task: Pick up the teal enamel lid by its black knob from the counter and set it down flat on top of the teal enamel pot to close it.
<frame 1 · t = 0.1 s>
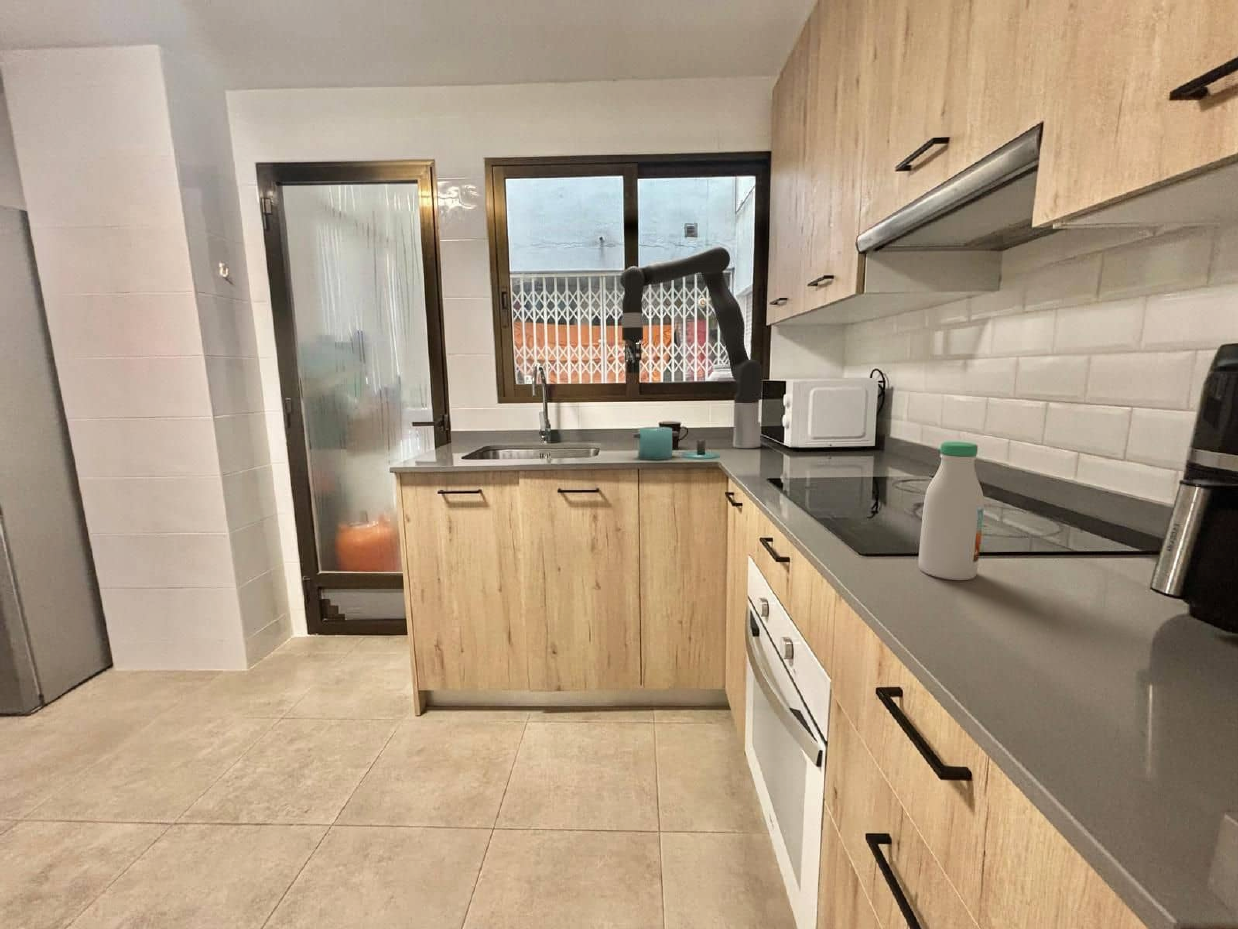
hand: (633, 373, 193), 29 cm above the worktop, tool pointing down, fingers open, 8 cm apart
milk bottle: (946, 573, 82), on the worktop
coffee mug: (671, 448, 208), on the worktop
lid: (700, 456, 190), on the worktop
pot: (655, 457, 189), on the worktop
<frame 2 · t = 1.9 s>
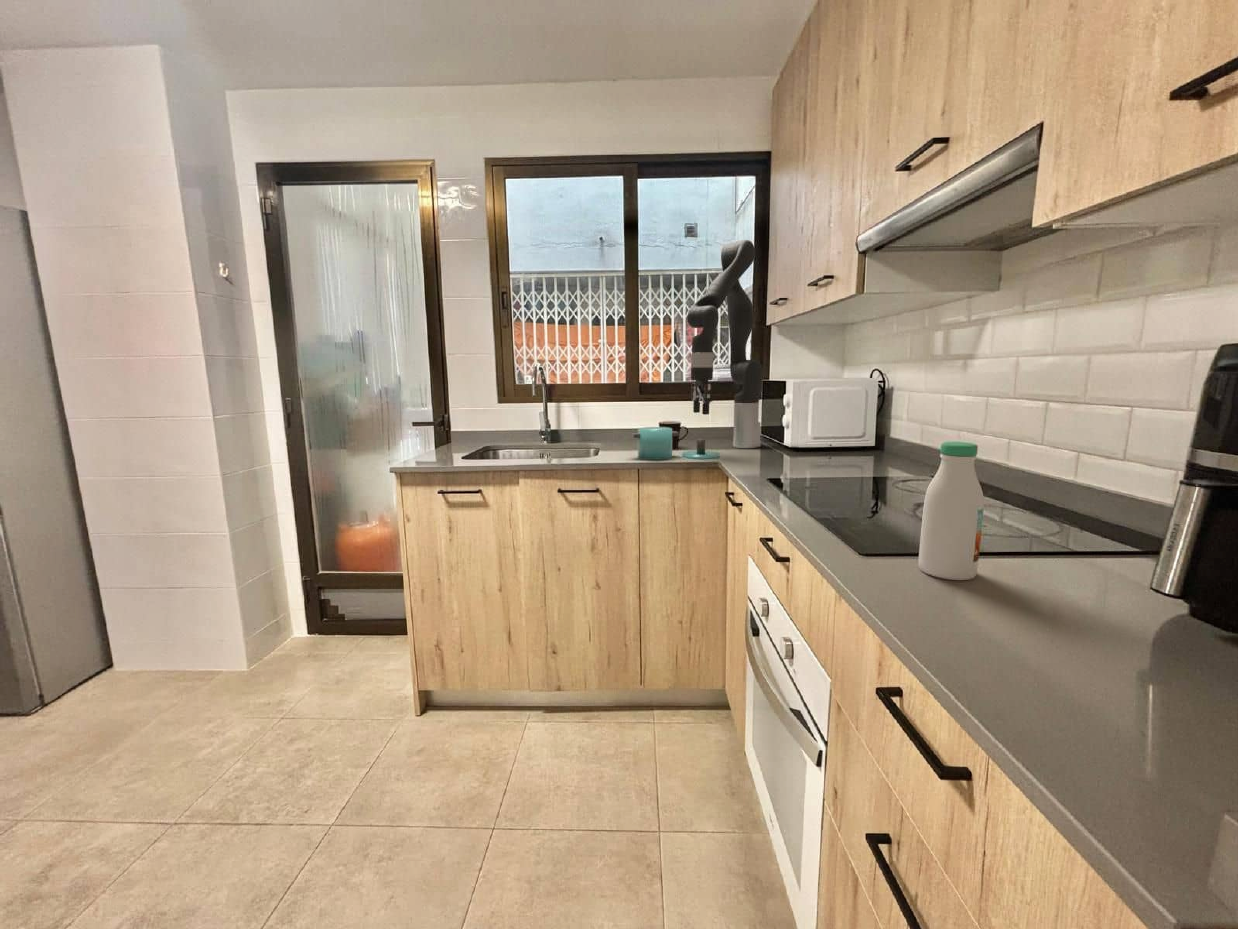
hand: (701, 413, 187), 15 cm above the worktop, tool pointing down, fingers open, 8 cm apart
nothing on the worktop moved.
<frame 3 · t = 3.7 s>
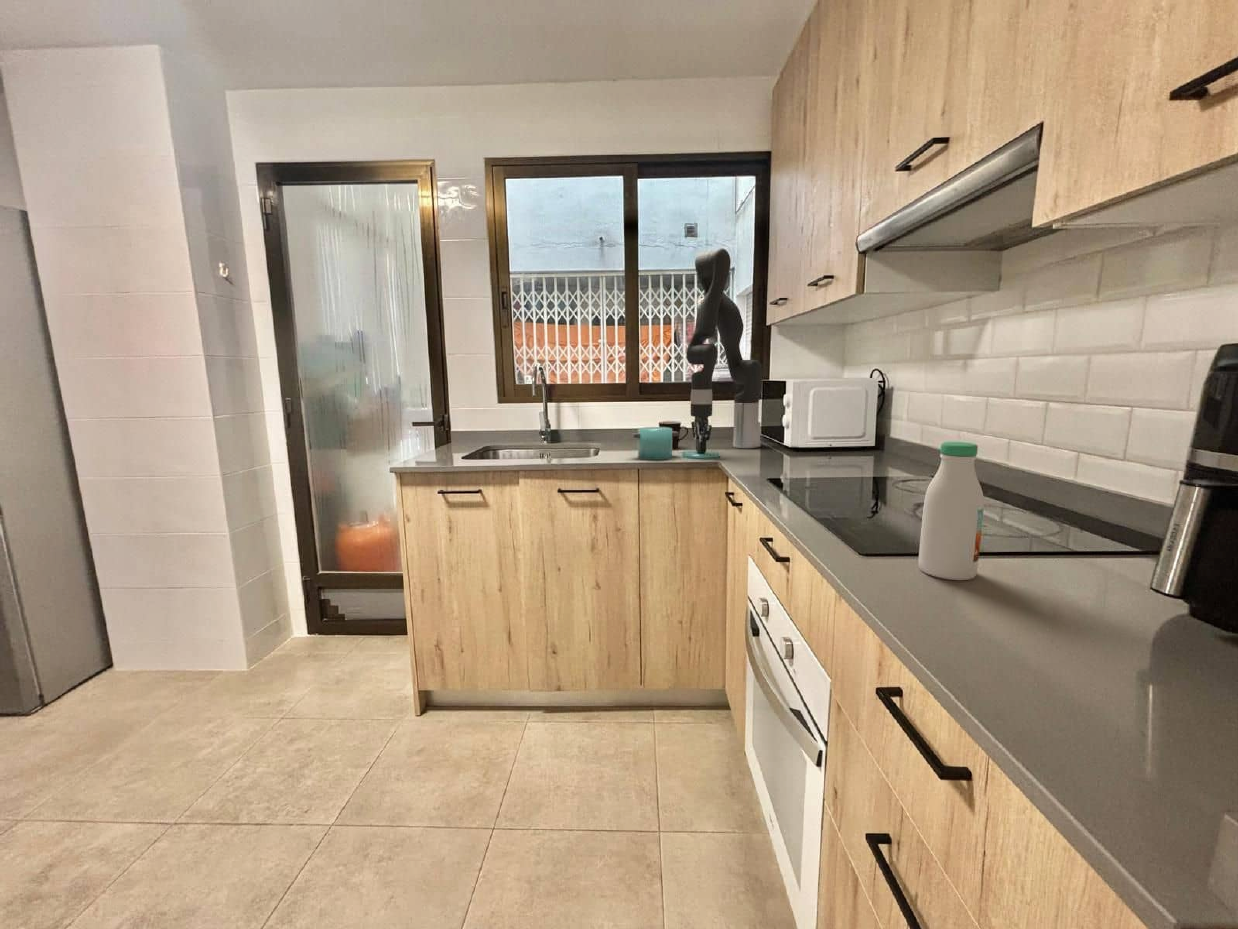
hand: (700, 451, 189), 2 cm above the worktop, tool pointing down, fingers closed on lid, 3 cm apart
lid: (700, 456, 190), on the worktop, touching gripper
everything else where it was.
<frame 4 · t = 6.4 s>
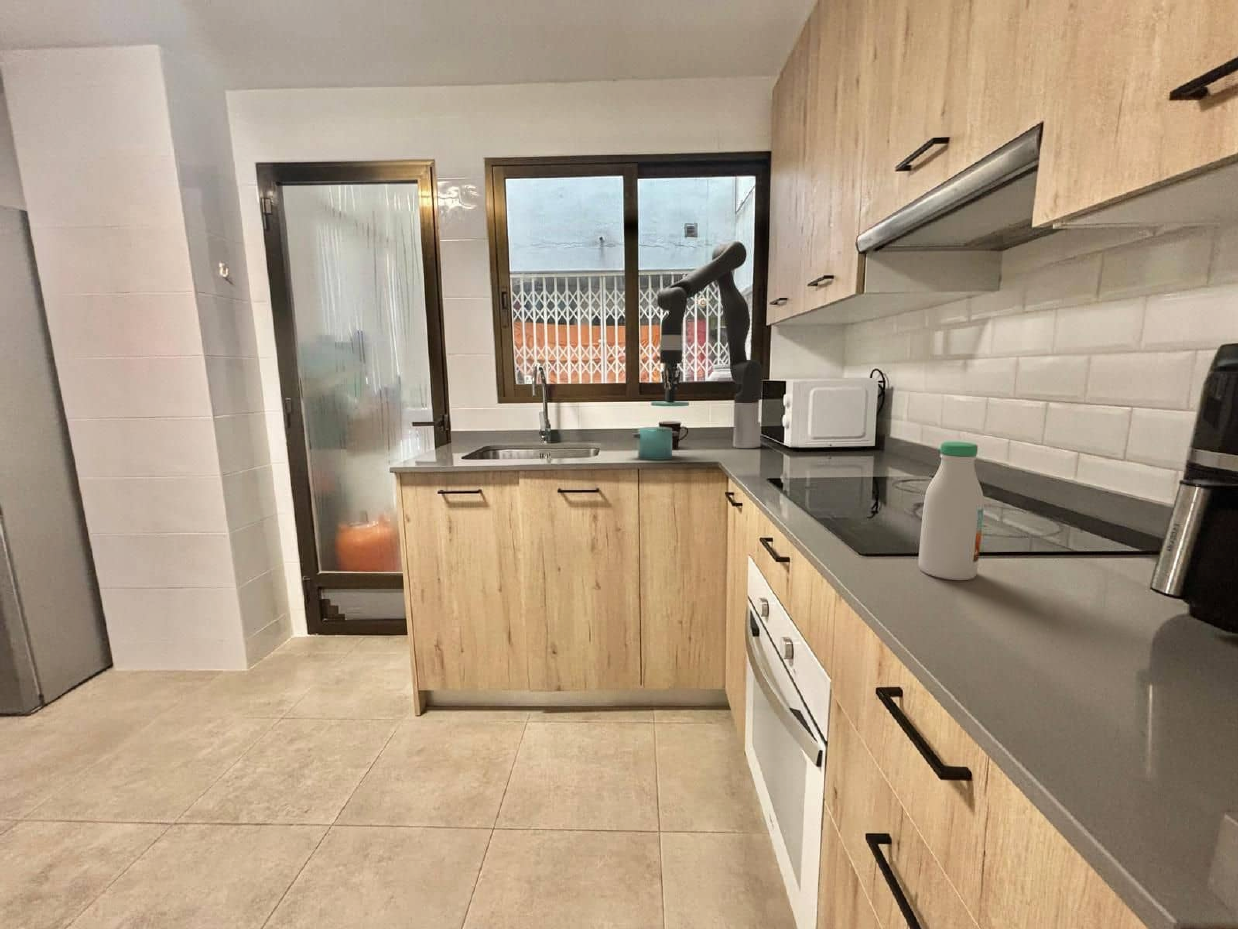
hand: (670, 400, 185), 20 cm above the worktop, tool pointing down, fingers closed on lid, 3 cm apart
lid: (669, 405, 185), point 18 cm above the worktop, touching gripper
everything else where it was.
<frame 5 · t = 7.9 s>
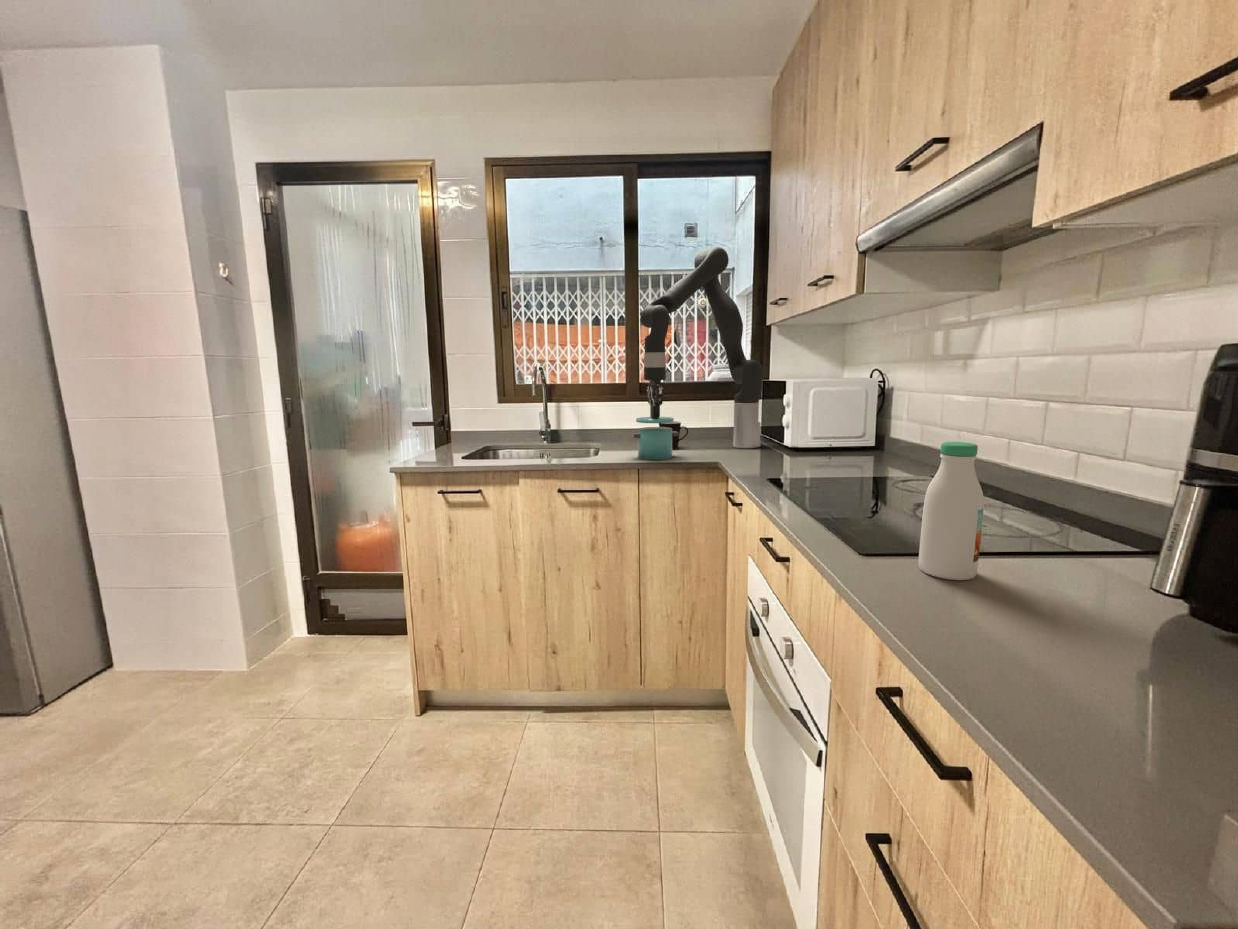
hand: (655, 416, 186), 14 cm above the worktop, tool pointing down, fingers closed on lid, 3 cm apart
lid: (654, 421, 187), point 13 cm above the worktop, touching gripper
everything else where it was.
when the fingers open (13 cm above the worktop, at t = 9.0 s): lid stays where it is, resting on pot.
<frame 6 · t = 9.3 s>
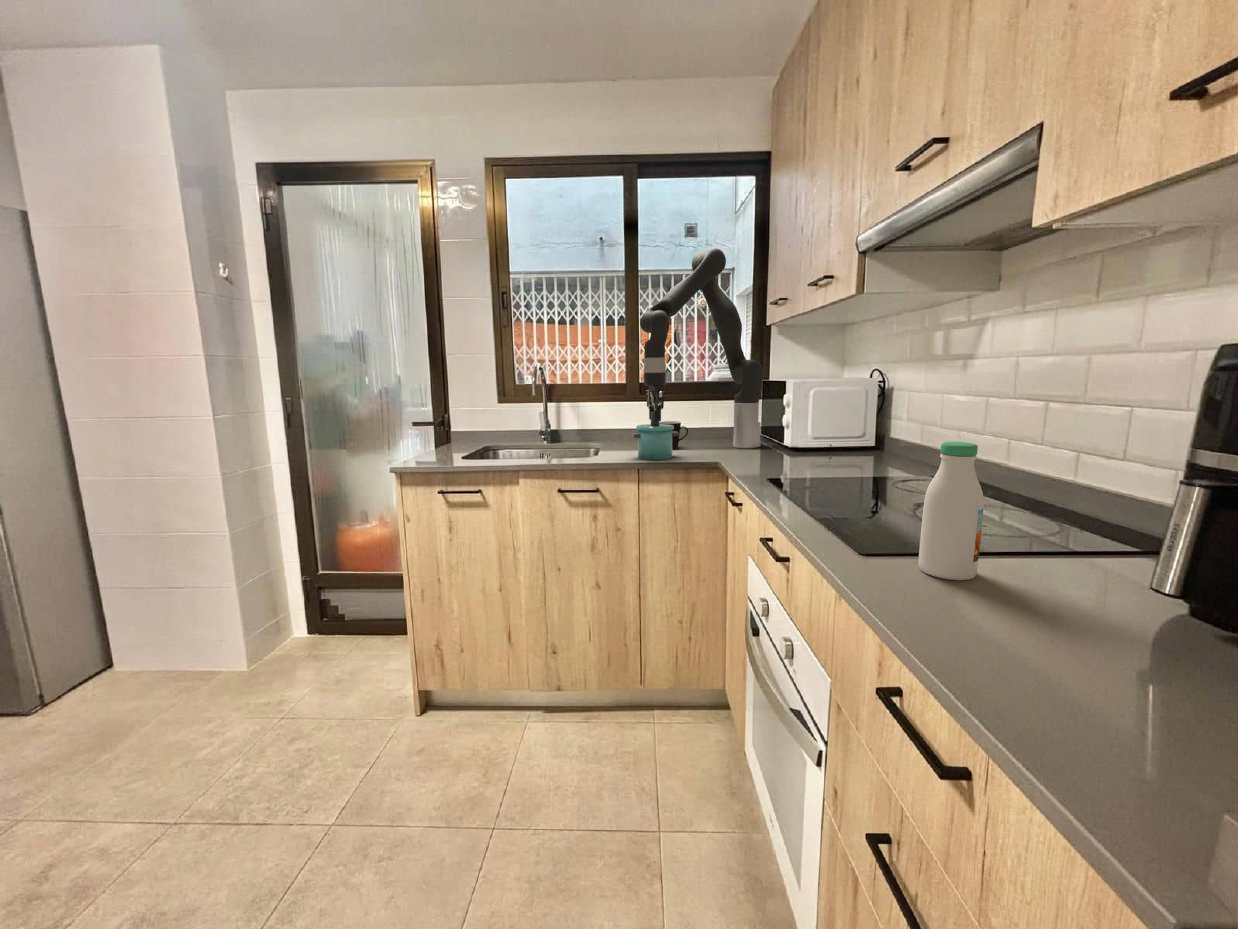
hand: (654, 420, 187), 13 cm above the worktop, tool pointing down, fingers open, 5 cm apart
lid: (655, 428, 187), point 10 cm above the worktop, touching pot
everything else where it was.
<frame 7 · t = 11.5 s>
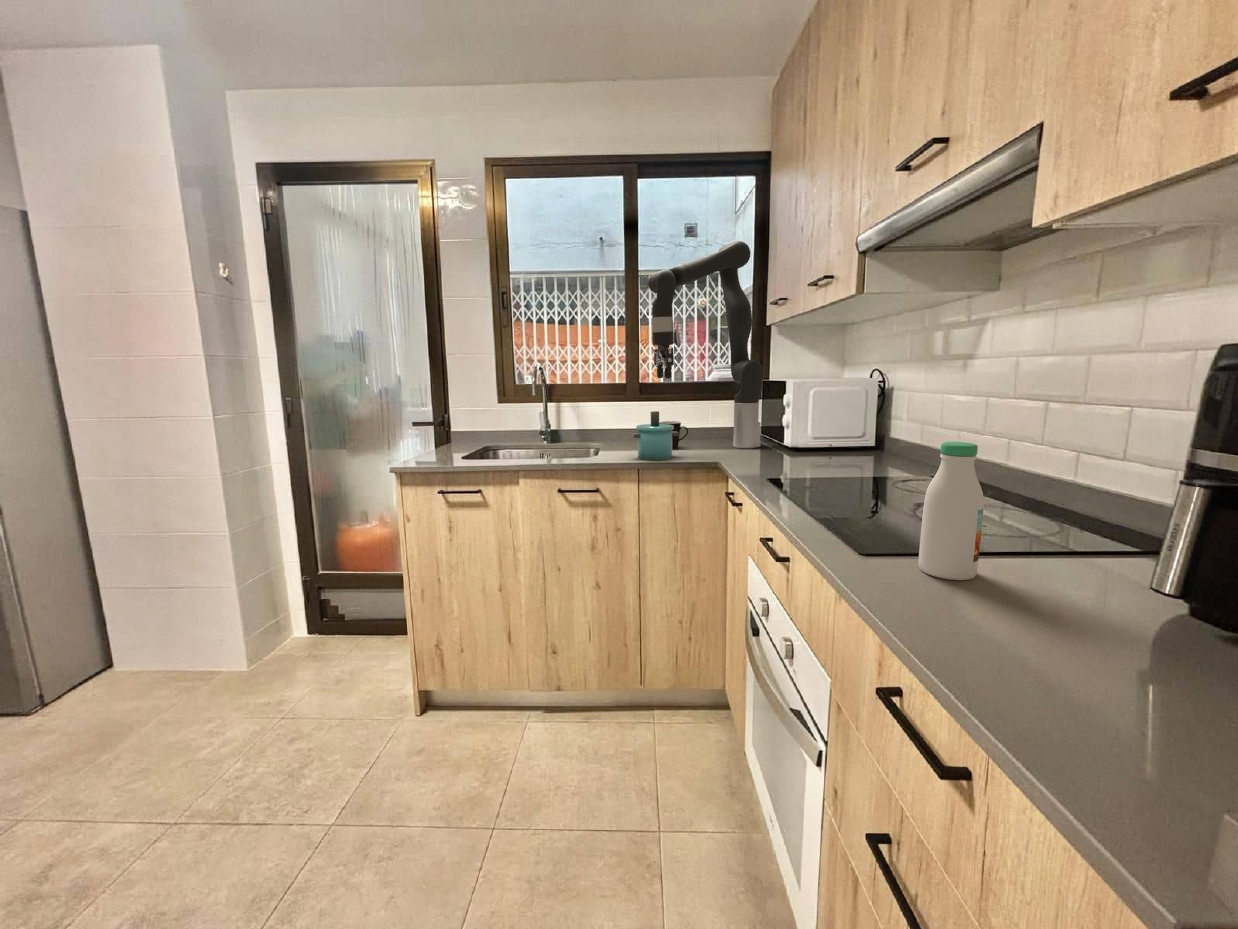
hand: (664, 378, 189), 27 cm above the worktop, tool pointing down, fingers open, 8 cm apart
nothing on the worktop moved.
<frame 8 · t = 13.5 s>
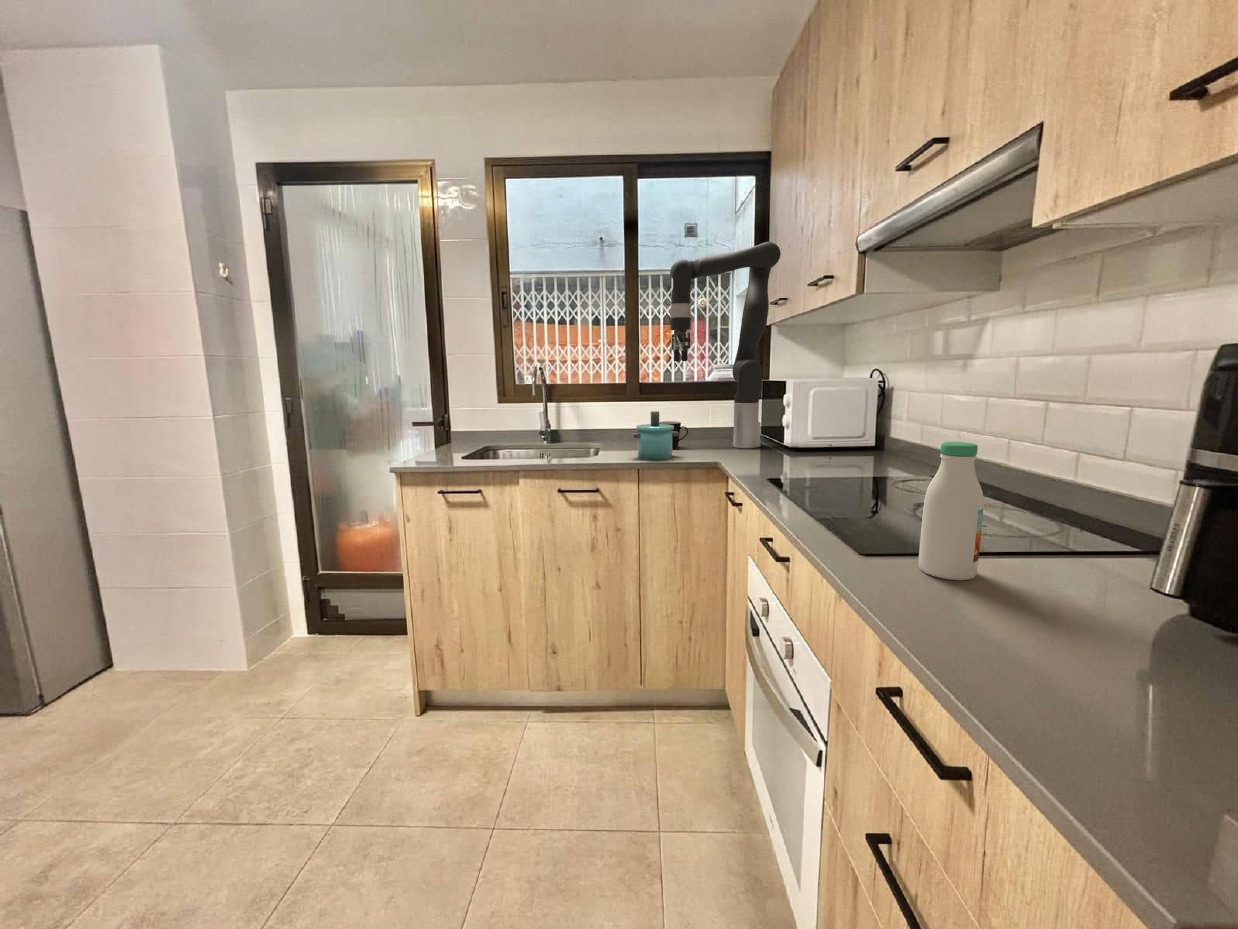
hand: (680, 361, 201), 33 cm above the worktop, tool pointing down, fingers open, 8 cm apart
nothing on the worktop moved.
at the end: lid 0.0 cm off-centre on the pot, point 10.0 cm above the pot's base; lid tilted 0°; the gripper is holding nothing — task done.
